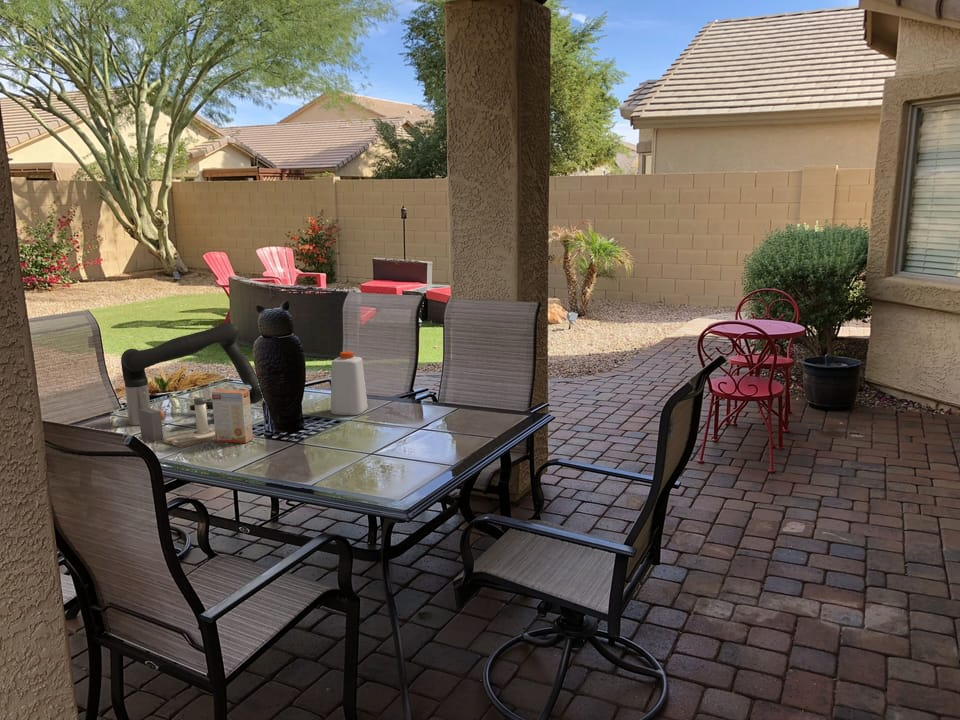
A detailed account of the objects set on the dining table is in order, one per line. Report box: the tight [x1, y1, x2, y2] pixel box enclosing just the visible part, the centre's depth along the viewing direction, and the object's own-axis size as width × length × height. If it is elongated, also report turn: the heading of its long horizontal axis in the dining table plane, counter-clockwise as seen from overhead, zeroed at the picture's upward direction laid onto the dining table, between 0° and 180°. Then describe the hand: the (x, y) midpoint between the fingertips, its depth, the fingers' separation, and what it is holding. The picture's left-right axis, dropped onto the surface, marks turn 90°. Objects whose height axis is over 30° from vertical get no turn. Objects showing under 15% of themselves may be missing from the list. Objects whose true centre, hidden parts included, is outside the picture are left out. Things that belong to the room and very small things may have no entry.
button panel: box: [139, 407, 164, 442], centre depth 309 cm, size 10×4×12 cm, turn 52°
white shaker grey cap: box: [193, 396, 209, 433], centre depth 312 cm, size 5×5×14 cm
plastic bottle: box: [330, 350, 369, 416], centre depth 346 cm, size 15×15×28 cm
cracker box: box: [211, 388, 254, 444], centre depth 303 cm, size 14×6×21 cm, turn 74°
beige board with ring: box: [162, 427, 216, 448], centre depth 308 cm, size 14×20×2 cm
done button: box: [157, 409, 166, 421], centre depth 311 cm, size 4×2×4 cm, turn 52°
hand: (191, 408), depth 323 cm, fingers closed
